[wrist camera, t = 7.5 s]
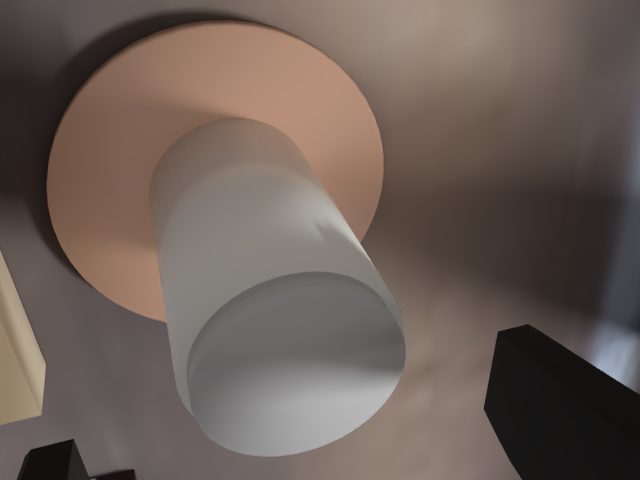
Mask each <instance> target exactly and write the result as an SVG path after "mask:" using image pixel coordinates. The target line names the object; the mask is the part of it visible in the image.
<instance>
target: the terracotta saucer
mask: <svg viewBox="0 0 640 480" xmlns="http://www.w3.org/2000/svg"><path fill="white" fill-rule="evenodd" d="M233 118H240V119H251V120H256V121H260V122H263V123H266V124H269V125H271V126H273V127H275V128H277V129H279V130H280V131H282V132H283V133H285V134H286V135H287V136H289V137H290V138H291V139H292V140H293V141H294V142H295V143H296V145H297V146H298V147H299V148H300V150H301V151H302V153H303V154H304V156H305V158H306V159H307V161H308V162H309V164H310V165H311V167H312V169H313V170H314V172H315V173H316V175H317V176H318V178H319V180H320V181H321V183H322V184H323V186H324V188H325V189H326V191H327V192H328V194H329V195H330V197H331V199H332V200H333V202H334V203H335V205H336V206H337V208H338V210H339V211H340V213H341V214H342V216H343V217H344V219H345V221H346V222H347V224H348V225H349V227H350V229H351V230H352V232H353V233H354V235H355V236H356V238H357V240H358V241H359V243H361V241H362V240H363V238H364V236H365V234H366V232H367V230H368V228H369V227H370V225H371V222H372V220H373V217H374V215H375V212H376V209H377V207H378V203H379V199H380V195H381V191H382V183H383V174H384V157H383V148H382V142H381V136H380V132H379V129H378V126H377V123H376V120H375V117H374V115H373V112H372V110H371V108H370V106H369V104H368V102H367V100H366V99H365V97H364V96H363V94H362V93H361V91H360V90H359V89H358V87H357V86H356V84H355V83H354V82H353V81H352V80H351V79H350V77H349V76H348V75H347V74H346V73H345V72H344V71H343V70H342V69H341V68H340V67H339V66H338V65H337V64H336V63H335V62H334V61H333V60H332V59H331V58H329V57H328V56H327V55H325V54H324V53H323V52H322V51H320V50H319V49H318V48H317V47H315V46H313V45H311V44H310V43H308V42H306V41H305V40H303V39H301V38H299V37H298V36H295V35H293V34H290V33H288V32H285V31H283V30H280V29H278V28H275V27H271V26H267V25H263V24H259V23H254V22H247V21H237V20H204V21H198V22H192V23H186V24H180V25H177V26H173V27H170V28H167V29H164V30H160V31H157V32H154V33H152V34H150V35H148V36H146V37H144V38H142V39H139V40H137V41H135V42H133V43H131V44H130V45H128V46H127V47H125V48H124V49H122V50H120V51H119V52H117V53H116V54H114V55H113V56H111V57H110V58H109V59H108V60H107V61H105V62H104V63H103V64H102V65H101V66H100V67H99V68H97V69H96V70H95V71H94V72H93V73H92V74H91V75H90V76H89V77H88V79H87V80H86V81H85V82H84V83H83V84H82V86H81V87H80V88H79V89H78V90H77V92H76V93H75V95H74V96H73V98H72V100H71V101H70V103H69V104H68V106H67V108H66V109H65V111H64V113H63V115H62V118H61V120H60V122H59V125H58V127H57V129H56V132H55V135H54V139H53V143H52V147H51V151H50V157H49V164H48V175H47V199H48V208H49V213H50V217H51V221H52V226H53V228H54V231H55V233H56V236H57V238H58V241H59V243H60V245H61V247H62V249H63V250H64V252H65V254H66V255H67V257H68V259H69V260H70V262H71V263H72V265H73V266H74V267H75V268H76V269H77V271H78V272H79V273H80V274H81V276H82V277H83V278H84V279H85V280H86V281H88V282H89V283H90V284H91V285H92V286H93V287H94V288H95V289H96V290H97V291H99V292H100V293H102V294H103V295H104V296H106V297H107V298H109V299H110V300H112V301H113V302H115V303H117V304H119V305H120V306H122V307H124V308H126V309H128V310H130V311H132V312H135V313H138V314H140V315H143V316H145V317H148V318H152V319H156V320H159V321H163V322H167V321H166V314H165V307H164V300H163V294H162V287H161V280H160V273H159V266H158V260H157V253H156V246H155V239H154V232H153V226H152V219H151V212H150V205H149V188H150V182H151V178H152V175H153V172H154V170H155V168H156V166H157V164H158V162H159V160H160V159H161V157H162V156H163V154H164V153H165V151H166V150H167V149H168V148H169V147H170V146H171V145H172V144H173V143H174V142H175V141H177V140H178V139H179V138H180V137H181V136H183V135H184V134H186V133H188V132H189V131H191V130H192V129H195V128H197V127H199V126H201V125H204V124H207V123H210V122H213V121H217V120H222V119H233Z"/></svg>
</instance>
